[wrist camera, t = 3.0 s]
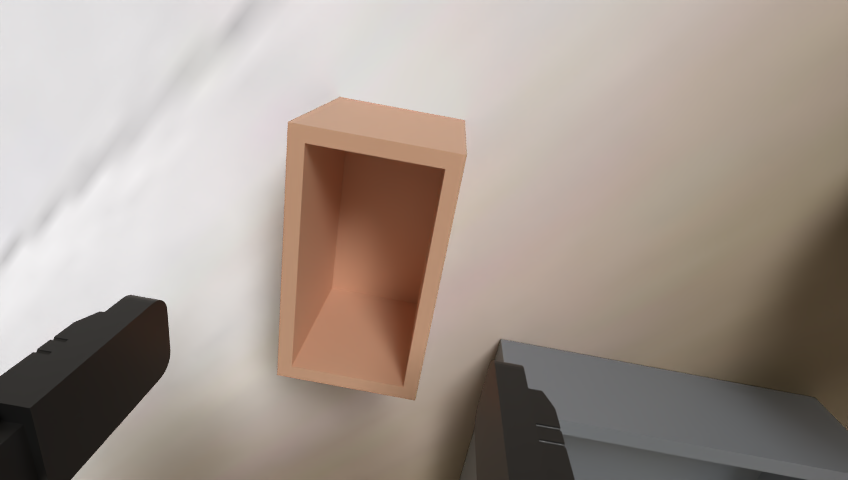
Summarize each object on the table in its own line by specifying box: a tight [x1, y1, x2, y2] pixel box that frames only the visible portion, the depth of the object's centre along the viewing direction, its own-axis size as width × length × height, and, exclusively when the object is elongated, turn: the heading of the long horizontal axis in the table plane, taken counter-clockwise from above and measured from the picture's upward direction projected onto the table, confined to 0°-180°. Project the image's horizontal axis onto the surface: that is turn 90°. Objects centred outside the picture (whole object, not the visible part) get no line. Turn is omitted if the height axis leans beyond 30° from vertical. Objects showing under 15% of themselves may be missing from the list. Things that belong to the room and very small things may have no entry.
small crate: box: [277, 97, 467, 400], centre depth 17 cm, size 9×5×6 cm, turn 170°
